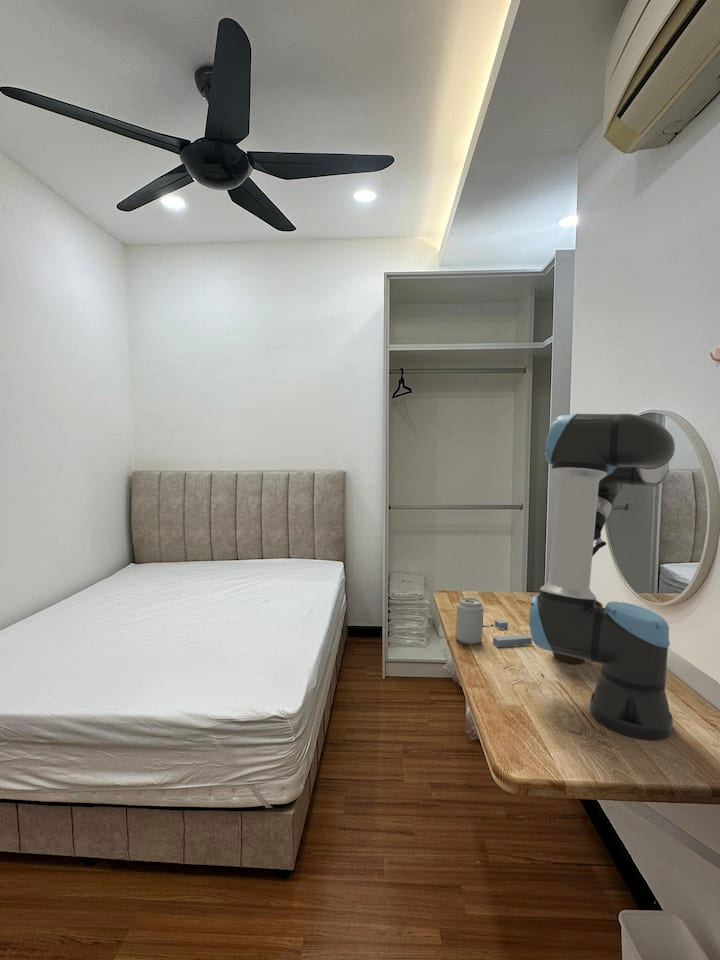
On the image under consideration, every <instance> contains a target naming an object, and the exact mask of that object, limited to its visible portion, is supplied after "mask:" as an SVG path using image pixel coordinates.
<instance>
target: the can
mask: <svg viewBox="0 0 720 960" xmlns="http://www.w3.org/2000/svg"><path fill="white" fill-rule="evenodd" d="M456 604H457V605H456V619H455V620H456V622H455V638H456V640H457V641H458V642H460V643H461V644H464V645H469V646H470V645H471V646H472V645H473V646H474V645H478V644H479V643H480V642H481V641H482V640H483V628H484V627H483V619H484V605H483V604H482V600H480V599H478V598H474V597H460V599H459V602H458V603H456Z"/></svg>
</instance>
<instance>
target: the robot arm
mask: <svg viewBox="0 0 720 960" xmlns="http://www.w3.org/2000/svg"><path fill="white" fill-rule="evenodd" d="M675 447H676V445H675V439H674V438H673V435H672V434H671V432H669V430H668V429H667V428H666V427H664V426H663V425H661V424H660V423H658V422H656V421H654V420H652V419H650V418H647V417H645V416H642V415H638V414H633V413H632V414H631V413H609V414H608V413H575V414H563V415H562V414H561V415H559V416H558V417H556V418H555V419H554V420H553V422H552V424H551V425H550V428H549V430H548V434H547V438H546V442H545V453H544V454H545V455H544V456H545V461H546V463H547V464H549V465H551V472H552V473H553V475H555V476H556V477H557V488H556V497H555V507H554V519H553V526H552V527H553V528H552V538H551V549H550V559H549V569H548V570H549V571H548V580H547V582H546V583H545V584H544V585H542V586H541V587H540V588H539V593H537V594H534V595H533V596H532V597H531V601H530V607H529V612H528V613H529V614H528V615H529V616H528V619H529V620H528V621H529V632H530V637H531V638H532V642H533V643H534V645H535V646H536V647H537V648H539V649H542V650H546V651H548V652H552V654H553V653H560V654H564V655H568V656H572V657H576V658H580V659H584V660H585V661H588V662H592V663H593V662H594V663H598V664H600V665H601V672H600V677H599V679H598V682H597V683H596V687H595V689H594V692H593V693H592V694H591V696H590V700H589V712H590V714H591V715H592V717H593V718H594V719H595V720H596V721H598V722H599V723H600V724H602V725H603V726H605V727H606V728H609V729H610V730H613V731H614V732H617V731H618V732H617V733H620V734H622V733H623V735H625V734H626V736H628V735H629V737H632V738H636V739H637V738H638V739H643V740H661V739H665V738H666V739H667V738H668V737H670V736H671V735H672V733H673V726H674V725H673V724H674V721H673V719H674V718H673V715H672V713H671V712H670V705H669V702H668V697H667V694H666V680H667V668H668V667H667V664H668V652H669V651H668V650H669V649H668V648H669V647H670V644H671V643H670V627H669V624H668V622H667V621H666V620H665V618H664V617H662V616H661V615H659V614H657V612H654V611H652V610H650V609H649V608H648V609H647V608H645V607H642V606H640V605H637V604H633V603H628V602H623V601H621V602H620V601H610V602H609V601H608V602H607V603H606V605H604V607H603V608H602V607H597V606H596V601H597V596H596V595H595V594H594V593H593V591H592V590H591V589H590V585H591V575H592V574H591V572H592V563H593V558H594V557H593V556H595V554H596V553H597V552H598V551H599V550H600V549H601V548H604V547H605V546H606V545H607V542H606V541H604V540H603V539H602V538H601V536H602V530H603V529H604V526H605V524H606V522H607V520H608V518H609V516H610V513H611V510H612V509H613V506H614V504H615V503H616V500H617V499H618V496H619V495H620V492H621V490H622V489H623V485H626V486H627V485H628V486H642V487H644V486H645V487H655V486H657V485H658V484H660V483H661V482H662V481H663V480H664V479H665V478H666V476H667V474H668V472H669V461H670V460H671V461H672V458H673V457H674V454H675V450H676V449H675ZM594 541H596V542H594Z"/></svg>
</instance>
